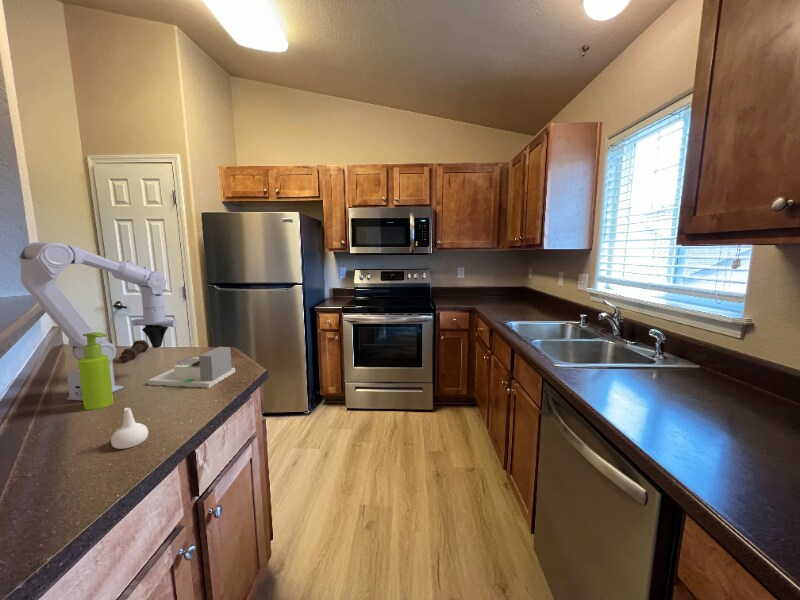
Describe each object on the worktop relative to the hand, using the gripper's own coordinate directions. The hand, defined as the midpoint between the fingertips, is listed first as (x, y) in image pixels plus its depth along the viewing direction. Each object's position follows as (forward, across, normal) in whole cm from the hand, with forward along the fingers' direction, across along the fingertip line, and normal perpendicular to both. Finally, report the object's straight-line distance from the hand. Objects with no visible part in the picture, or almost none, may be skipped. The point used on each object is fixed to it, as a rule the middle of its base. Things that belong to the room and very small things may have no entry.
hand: (157, 347), depth 109 cm
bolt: (+10, +24, -15) cm, 30 cm away
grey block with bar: (+8, -14, +2) cm, 16 cm away
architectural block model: (+9, -14, +2) cm, 17 cm away
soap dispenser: (+10, -3, +23) cm, 25 cm away
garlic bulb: (+10, -26, +38) cm, 47 cm away
